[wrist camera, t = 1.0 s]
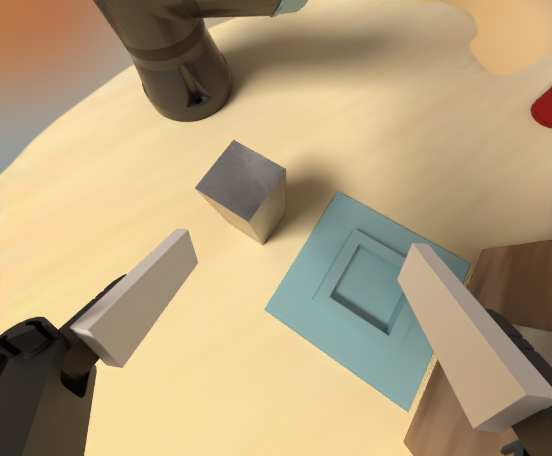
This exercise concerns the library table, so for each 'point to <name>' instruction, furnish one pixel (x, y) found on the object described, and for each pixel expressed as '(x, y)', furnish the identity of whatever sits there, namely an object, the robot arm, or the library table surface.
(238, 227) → the bar
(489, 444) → the door panel
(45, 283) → the library table surface
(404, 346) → the socket
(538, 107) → the plastic cup
